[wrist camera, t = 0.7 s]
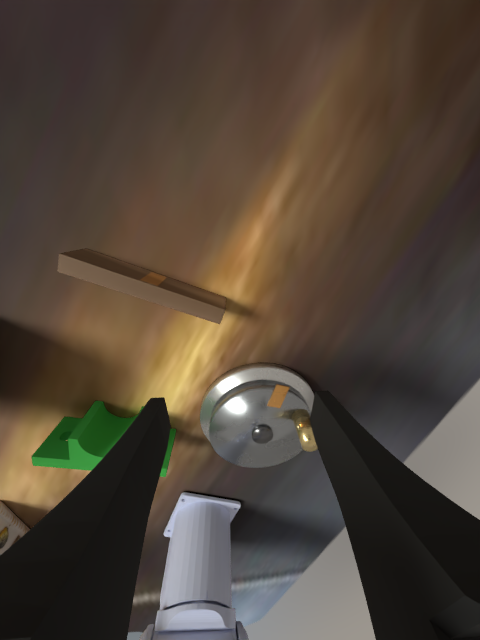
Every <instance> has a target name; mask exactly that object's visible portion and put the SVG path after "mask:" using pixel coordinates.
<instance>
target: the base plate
mask: <svg viewBox="0 0 480 640" xmlns="http://www.w3.org/2000/svg"><path fill="white" fill-rule="evenodd" d="M254 380H274V381H279V382H283V383H285V384H288V385H290V386H291V387H293V388H295V389H296V390H297V391H299V392H300V394H301V395H302V396H303V397H304V399H305V400H306V403H307V405H308V407H309V409H310V412H311V411H312V406H313V401H314V394H313V392H312V390H311V388H310V386H309V384H308V383H307V381H306V380H305V379H304V378H303V377H302V376H301V375H300V374H298V373H297V372H296V371H294V370H292V369H290V368H288V367H285V366H282V365H278V364H274V363H251V364H246V365H242V366H239V367H236V368H234V369H232V370H229V371H227V372H226V373H224V374H223V375H221V376H220V377H219V378H217V379H216V380H215V381H214V382H213V383H212V384H211V385H210V387H209V388H208V390H207V391H206V393H205V395H204V397H203V401H202V405H201V413H200V422H201V427H202V430H203V432H204V434H205V436H206V437H207V438H208V440H209V441H210V438H209V426H210V416H211V411H212V409H213V407H214V405H215V403H216V402H217V400H218V399H219V398H220V397H221V396H222V395H223V394H224V393H225V392H227V391H228V390H230V389H231V388H233V387H235V386H237V385H240V384H242V383H245V382H249V381H254Z"/></svg>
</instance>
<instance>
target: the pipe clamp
mask: <svg viewBox="0 0 480 640" xmlns="http://www.w3.org/2000/svg"><path fill="white" fill-rule="evenodd" d="M143 408H144V407H143V406H142V408H141V410H142V409H143ZM141 410H140V412H141ZM137 416H138V414H137V415H136V416H134V417H130V418H121V417H117V416H114V415H113V414H111V413H110V412H108V411H107V409H106V408H105V406H104V402H103V401H95V402H94V404H93V405H92V406H91V408H90V409H89V410H88V412H87V413H86V414H85V416H84V417H83V419H82V418H73V417H64V418H63V419H62V420H61V422H60V423H59V424H58V425H57V426H56V428H55V429H54V430H53V431H52V432H51V434H50V435H49V436H48V437H47V439H46V440H45V441H44V442H43V443H42V445H41V446H40V447H39V448H38V449H37V451H36V452H35V453H34V454H33V455H32V463H33V466H45V467H56V468H68V469H80V470H93V469H94V467H95V466H96V465H97V464H98V463H99V462H100V461H101V460H102V459H103V457H104V456H105V455H106V454H107V453H108V452H109V450H110V449H111V448H112V447H113V446H114V445H115V444H116V442H117V441H118V440H119V439H120V437H121V436H122V435H123V434H124V432H125V431H126V430H127V429H128V427H129V426H130V425H131V424H132V422H133V421H134V420H135V418H136V417H137ZM175 434H176V429H170V435H169V441H168V447H167V451H166V455H165V459H164V462H163V466H162V469H161V473H160V476H162V477H166V473H167V469H168V464H169V460H170V456H171V452H172V447H173V443H174V439H175ZM66 440H68V441H66Z"/></svg>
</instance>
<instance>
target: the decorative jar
mask: <svg viewBox="0 0 480 640" xmlns="http://www.w3.org/2000/svg"><path fill="white" fill-rule="evenodd" d="M29 530H30V529H29V528H28V527H27V526H26V524H24V523H23V522H22V521H21V520H20V519H19V518H18V517H17V516H16V515H15V514H14V513H13V512H12V511H11V510H10V509H9V508H8V507H7V506H6V505H5V504H4V503H3V502H1V501H0V555H1V554H2V553H4V552H5V551H6V550H7V549H8V548H10V547H11V546H12V545H13V544H14V543H15V542H16V541H18V540H19V539H20V538H21V537H22V536H23V535H24V534H26V533H27V532H28V531H29Z"/></svg>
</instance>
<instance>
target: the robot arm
mask: <svg viewBox="0 0 480 640" xmlns="http://www.w3.org/2000/svg"><path fill="white" fill-rule="evenodd" d="M310 424H311V427H312V431H313V435H314V439H315V442H316V445H317V447H318V450H319V453H320V455H321V458H322V460H323V463H324V466H325V468H326V471H327V473H328V476H329V478H330V481H331V483H332V486H333V488H334V491H335V494H336V496H337V499H338V502H339V505H340V508H341V511H342V515H343V518H344V521H345V525H346V528H347V531H348V535H349V538H350V542H351V545H352V549H353V552H354V555H355V559H356V563H357V567H358V570H359V574H360V578H361V582H362V586H363V589H364V593H365V597H366V601H367V605H368V609H369V613H370V617H371V621H372V625H373V629H374V633H375V638H376V640H480V520H479V519H477V518H476V517H474V516H472V515H471V514H470V513H468V512H467V511H465V510H464V509H463V508H461V507H460V506H458V505H457V504H455V503H454V502H453V501H451V500H450V499H448V498H447V497H446V496H444V495H443V494H442V493H440V492H439V491H438V490H436V489H435V488H433V487H432V486H431V485H429V484H428V483H427V482H425V481H424V480H423V479H421V478H420V477H419V476H418V475H416V474H415V473H414V472H413V471H411V470H410V469H409V468H407V466H405V465H404V464H403V463H402V462H400V461H399V460H398V459H397V458H396V457H395V456H393V455H392V454H391V453H390V452H389V451H388V450H387V449H385V448H384V447H383V446H382V445H381V444H380V443H379V442H378V441H377V440H376V439H375V438H374V437H373V436H371V435H370V434H369V433H368V432H367V431H366V430H365V429H364V428H363V427H362V426H361V425H360V424H359V423H358V422H357V421H356V420H355V419H354V418H353V417H352V416H351V415H350V414H349V412H348V411H347V410H346V409H345V408H344V407H343V406H342V405H341V404H340V403H339V402H338V401H337V400H336V399H335V398H334V397H333V396H332V394H331V393H330V392H329V391H315V396H314V401H313V406H312V411H311V416H310ZM170 429H171V425H170V420H169V416H168V412H167V407H166V403H165V399H164V398H151V399H150V400H149V401H148V402H147V404H146V405H145V406H144V408H143V409H142V410H141V412H140V413H139V414H138V416H137V417H136V418H135V420H134V421H133V422H132V424H131V425H130V426H129V427H128V429H127V430H126V431H125V432H124V434H123V435H122V436H121V437H120V439H119V440H118V441H117V442H116V444H115V445H114V446H113V447H112V448H111V449H110V450H109V452H108V453H107V454H106V455H105V456H104V457H103V459H102V460H101V461H100V462H99V463H98V464H97V465H96V466H95V467H94V469H93V470H92V471H91V472H90V473H89V474H88V475H87V476H86V477H85V478H84V479H83V480H82V481H81V482H80V483H79V484H78V485H77V486H76V487H75V488H74V489H73V490H72V491H71V492H70V493H69V494H68V495H67V496H66V497H65V498H64V499H63V500H62V501H61V502H60V503H59V504H58V505H57V506H56V507H55V508H54V509H53V510H51V511H50V512H49V513H48V514H47V515H46V516H45V517H44V518H43V519H42V520H41V521H39V522H38V523H37V524H36V525H35V526H34V527H33V528H31V529H30V530H29V531H28V532H27V533H26V534H24V535H23V536H22V537H21V538H20V539H19V540H18V541H16V542H15V543H14V544H13V545H12V546H11V547H10V548H8V549H7V550H6V551H5V552H4V553H2V554H1V555H0V640H127V634H128V628H129V621H130V615H131V609H132V603H133V597H134V591H135V586H136V580H137V574H138V569H139V563H140V558H141V552H142V547H143V542H144V537H145V532H146V527H147V522H148V517H149V513H150V509H151V505H152V501H153V498H154V494H155V491H156V487H157V484H158V480H159V477H160V473H161V469H162V466H163V462H164V459H165V455H166V451H167V447H168V441H169V435H170ZM240 507H241V503H240V502H239V501H234V500H228V499H222V498H216V497H210V496H204V495H198V494H192V493H186V492H184V493H182V494H181V496H180V498H179V500H178V502H177V504H176V507H175V509H174V511H173V513H172V515H171V518H170V520H169V522H168V524H167V526H166V529H165V531H164V536H166V537H171V538H170V543H169V549H168V555H167V561H166V566H165V572H164V578H163V584H162V590H161V597H160V610H159V611H158V612H157V618H156V624H155V629H154V624H149V625H148V626H147V629H146V630H145V631H144V632H143V634H142V635H141V637H140V640H248V635H247V633H246V631H245V629H244V627H243V625H242V623H241V622H240V621H236V618H235V608H232V598H231V540H230V523H231V521H232V520H233V518H234V516H235V515H236V513H237V512H238V510H239V508H240Z"/></svg>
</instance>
